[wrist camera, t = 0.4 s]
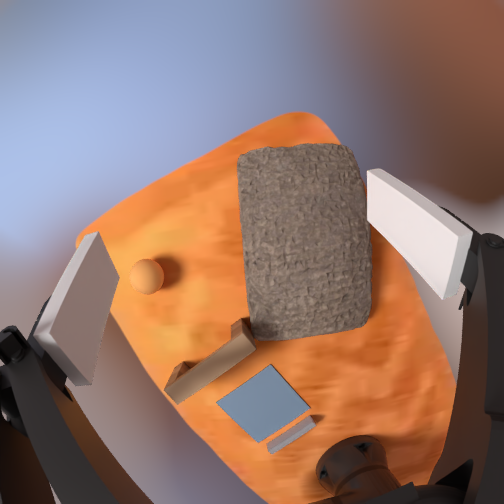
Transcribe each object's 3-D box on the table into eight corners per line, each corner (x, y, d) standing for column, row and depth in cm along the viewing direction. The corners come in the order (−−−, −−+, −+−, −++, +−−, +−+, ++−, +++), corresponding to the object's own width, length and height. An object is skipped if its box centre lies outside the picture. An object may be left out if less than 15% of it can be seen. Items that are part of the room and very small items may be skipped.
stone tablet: (232, 157, 49) (250, 337, 49) (232, 140, 41) (254, 353, 41) (346, 152, 51) (363, 320, 51) (364, 136, 42) (384, 330, 42)
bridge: (252, 331, 49) (256, 349, 40) (186, 380, 48) (177, 404, 39) (241, 318, 49) (242, 332, 40) (174, 367, 48) (163, 390, 39)
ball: (174, 278, 48) (166, 281, 43) (149, 298, 48) (139, 304, 42) (153, 251, 48) (144, 251, 43) (129, 272, 48) (117, 274, 42)
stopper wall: (313, 418, 50) (316, 425, 47) (270, 447, 49) (271, 454, 47) (309, 415, 50) (312, 421, 47) (266, 443, 49) (268, 451, 47)
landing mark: (309, 407, 50) (310, 408, 49) (258, 442, 49) (258, 442, 49) (270, 364, 49) (270, 364, 49) (216, 402, 49) (216, 402, 48)
